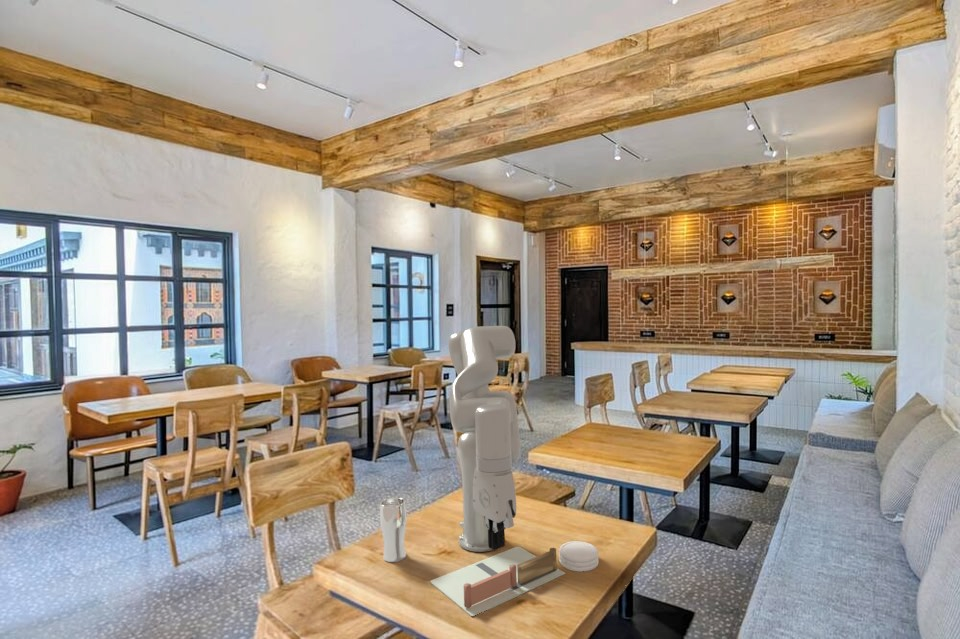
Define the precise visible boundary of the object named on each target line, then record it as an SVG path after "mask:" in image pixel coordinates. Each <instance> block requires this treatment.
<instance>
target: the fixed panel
mask: <svg viewBox="0 0 960 639" xmlns="http://www.w3.org/2000/svg"><path fill="white" fill-rule="evenodd" d="M557 565H558V564H557V548H556V547H550V548H549V551H547V552H545V553H542V554H539V555H537V556H536V557H534V558H532V559H530V560H527V561H525V562H523V563H520V564H518V565H517V572H518V583H519V584H522V583H525V582H527V581H529V580H531V579H533V578H536V577H538V576H540V575H542V574H544V573H547V572H549V571H551V570H553V571H555V570H557V569H558V568H557Z"/></svg>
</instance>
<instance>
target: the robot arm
mask: <svg viewBox="0 0 960 639" xmlns="http://www.w3.org/2000/svg"><path fill="white" fill-rule="evenodd" d="M515 350H516V339H515V333H514V332H513V330H512V329H511V328H510V327H509V326H506V325H489V326H488V325H486V326H485V325H483V326H473V327H470V328H467V329H466V330H462V331H458V332H455V333H452V334H451V335H450V337H449V339H448V351H449V357H450V360H451V362H452V366H453V367H454V369H455V372H456V374H457V376H456V378H455V379H454V381H453V382H452V384H451V387H450V388H449V394H448V402H449V404H448V405H449V415H450V416H449V417H450V421H451V426H452V428H453V429H454V430H455V431H456V432H458V433H462V434H461V435H460V436H459V437H458V441H457V450H458V457H459V462H460V469H461V482H462V484H461V485H462V504H463V505H462V508H463V509H462V510H463V521H460V522H459V526H460V527H461V528H462V533H461V534H460V535H459V537H458V544H459V546H460V547H461V548H463V549H464V550H467V551H470V552H475V553H484V552H490V551H496V550H499V549H501V548H504V547H505V546H506V538H505V537H506V535H505V530H507V529H509V528H512V527H514V526H515V523H514V518H515V517H516V515H517V494H516V486H515V480H514V475H513V473H514V472H513V471H512V468H513V466H512V463H513V464H514V463H516V462H518V460H519V459H520V457H521V437H520V430H519V419H518V410H517V404H516V400H515V397H514V395H513V394H512V393H511V392H509V391H507V390H499V391H498V390H496V391H490V388H489V384H490V383H492V382H493V381H494V380H495V379H496V378H497V376H498V373H499V366H498V363H497V360H498V359H499V360H501V359H508V358H511V357H512V356H513V355H514V353H515Z"/></svg>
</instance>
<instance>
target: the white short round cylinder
mask: <svg viewBox="0 0 960 639" xmlns="http://www.w3.org/2000/svg"><path fill="white" fill-rule="evenodd" d="M558 553H559V554H558V557H559V559H558V561H559V563H560V565H561V566H562V567H564V569H567V570H570V571H573V572H581V573H582V572H583V571H584V572H589V571H592V570H594V569H596V568H597V567H598V566H599V562H600V561H599V550H598V548H597V547H596V546H595V545H593V544H591V543H589V542H585V541H580V540H575V541H567V542H565V543H563V544H561V545H560V547H559V549H558ZM584 572H583V573H584Z"/></svg>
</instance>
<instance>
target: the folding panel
mask: <svg viewBox="0 0 960 639" xmlns="http://www.w3.org/2000/svg"><path fill="white" fill-rule="evenodd" d="M516 586H517V578H516V565H514V564H512V565H510V566H509V570H508V569H507V570H505V571H503V572H500V573H498V574H496V575H493V576H491V577H488V578H486V579H484V580H481V581H479V582H477V583H474V584H472V585H471V584H469V583H466V584H464V607H466V608H469V607H471V606H472V605H474V604H476V603H478V602H481V601H483V600H485V599H487V598H490V597H492V596H494V595H496V594H498V593H501V592H503V591H505V590H507V589H509V588H511V587H516Z"/></svg>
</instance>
